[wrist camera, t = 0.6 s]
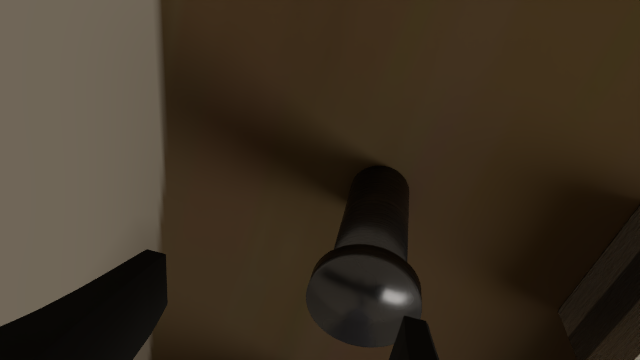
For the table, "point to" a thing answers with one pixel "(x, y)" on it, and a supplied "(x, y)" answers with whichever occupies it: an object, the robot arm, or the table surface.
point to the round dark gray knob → (368, 265)
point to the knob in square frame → (608, 302)
